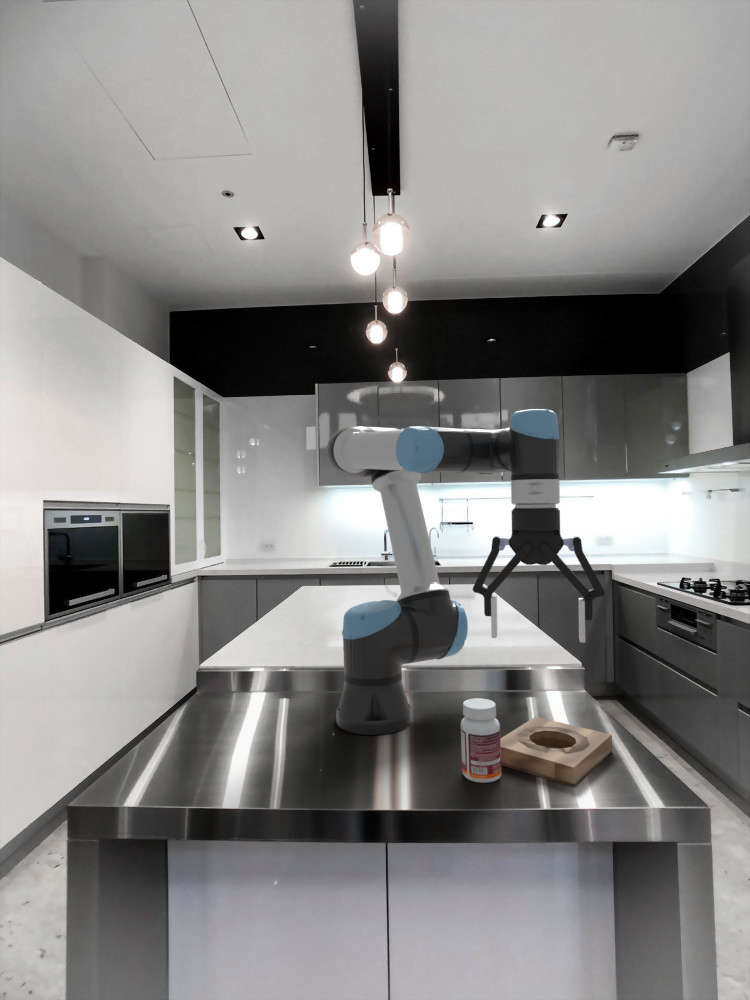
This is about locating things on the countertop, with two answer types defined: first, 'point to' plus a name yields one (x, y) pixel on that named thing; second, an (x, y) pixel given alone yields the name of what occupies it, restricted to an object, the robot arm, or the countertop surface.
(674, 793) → the countertop surface
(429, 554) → the robot arm
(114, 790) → the countertop surface
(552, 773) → the socket block
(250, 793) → the countertop surface
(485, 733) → the pill bottle
